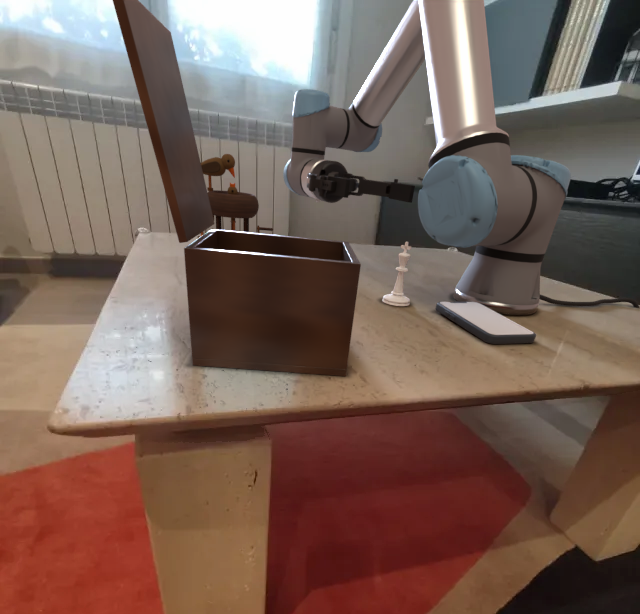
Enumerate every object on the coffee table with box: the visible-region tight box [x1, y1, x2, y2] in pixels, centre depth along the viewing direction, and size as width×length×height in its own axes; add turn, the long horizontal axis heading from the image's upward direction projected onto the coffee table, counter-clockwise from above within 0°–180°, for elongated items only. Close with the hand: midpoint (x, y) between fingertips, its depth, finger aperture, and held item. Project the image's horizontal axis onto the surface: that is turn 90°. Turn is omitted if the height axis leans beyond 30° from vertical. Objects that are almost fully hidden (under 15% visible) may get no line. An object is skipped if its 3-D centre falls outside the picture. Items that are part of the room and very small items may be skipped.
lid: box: [112, 0, 215, 244], centre depth 40 cm, size 17×14×1 cm
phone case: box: [435, 301, 537, 345], centre depth 67 cm, size 9×2×16 cm
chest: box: [183, 228, 362, 377], centre depth 48 cm, size 17×14×12 cm
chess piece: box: [381, 241, 412, 307], centre depth 72 cm, size 5×5×10 cm
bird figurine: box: [196, 153, 274, 240], centre depth 77 cm, size 15×11×20 cm
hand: (380, 191), depth 74 cm, fingers open, 13 cm apart
